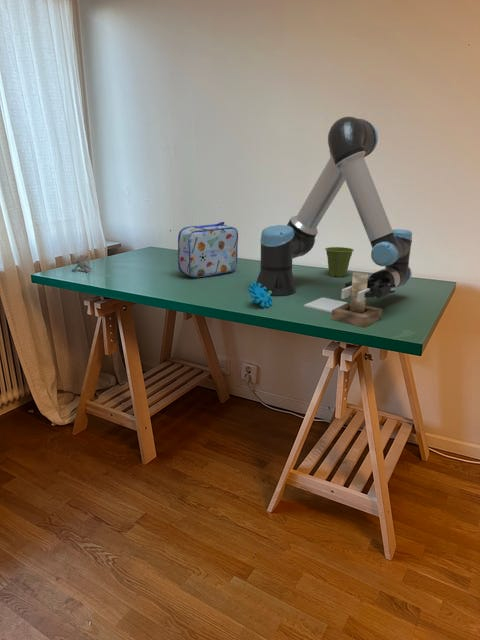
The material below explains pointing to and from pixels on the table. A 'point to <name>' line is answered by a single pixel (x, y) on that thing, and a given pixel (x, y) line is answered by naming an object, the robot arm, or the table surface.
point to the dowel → (358, 285)
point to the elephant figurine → (81, 264)
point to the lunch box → (207, 250)
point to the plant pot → (338, 260)
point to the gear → (260, 295)
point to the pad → (325, 304)
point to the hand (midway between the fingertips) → (350, 295)
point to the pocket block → (356, 315)
